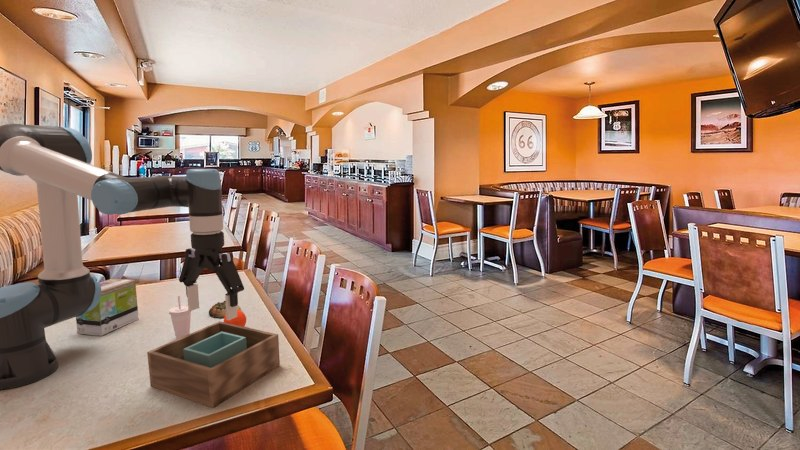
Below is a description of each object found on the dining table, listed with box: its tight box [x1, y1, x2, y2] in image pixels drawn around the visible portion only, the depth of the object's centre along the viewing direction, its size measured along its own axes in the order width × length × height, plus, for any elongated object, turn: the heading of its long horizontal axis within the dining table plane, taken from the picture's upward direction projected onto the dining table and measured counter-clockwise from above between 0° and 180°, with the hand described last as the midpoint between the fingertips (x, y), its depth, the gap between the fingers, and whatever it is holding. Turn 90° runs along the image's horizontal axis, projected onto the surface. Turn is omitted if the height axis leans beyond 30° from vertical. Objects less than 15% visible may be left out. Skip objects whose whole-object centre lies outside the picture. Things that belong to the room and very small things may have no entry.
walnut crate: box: [146, 321, 281, 409], centre depth 111 cm, size 22×22×9 cm
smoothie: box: [168, 295, 192, 340], centre depth 134 cm, size 6×6×14 cm
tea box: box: [75, 278, 139, 337], centre depth 143 cm, size 15×10×15 cm
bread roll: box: [208, 300, 242, 319], centre depth 157 cm, size 11×11×5 cm
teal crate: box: [183, 332, 247, 368], centre depth 111 cm, size 12×9×8 cm
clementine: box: [223, 309, 247, 327], centre depth 141 cm, size 8×7×7 cm
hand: (212, 313), depth 109 cm, fingers open, 13 cm apart
